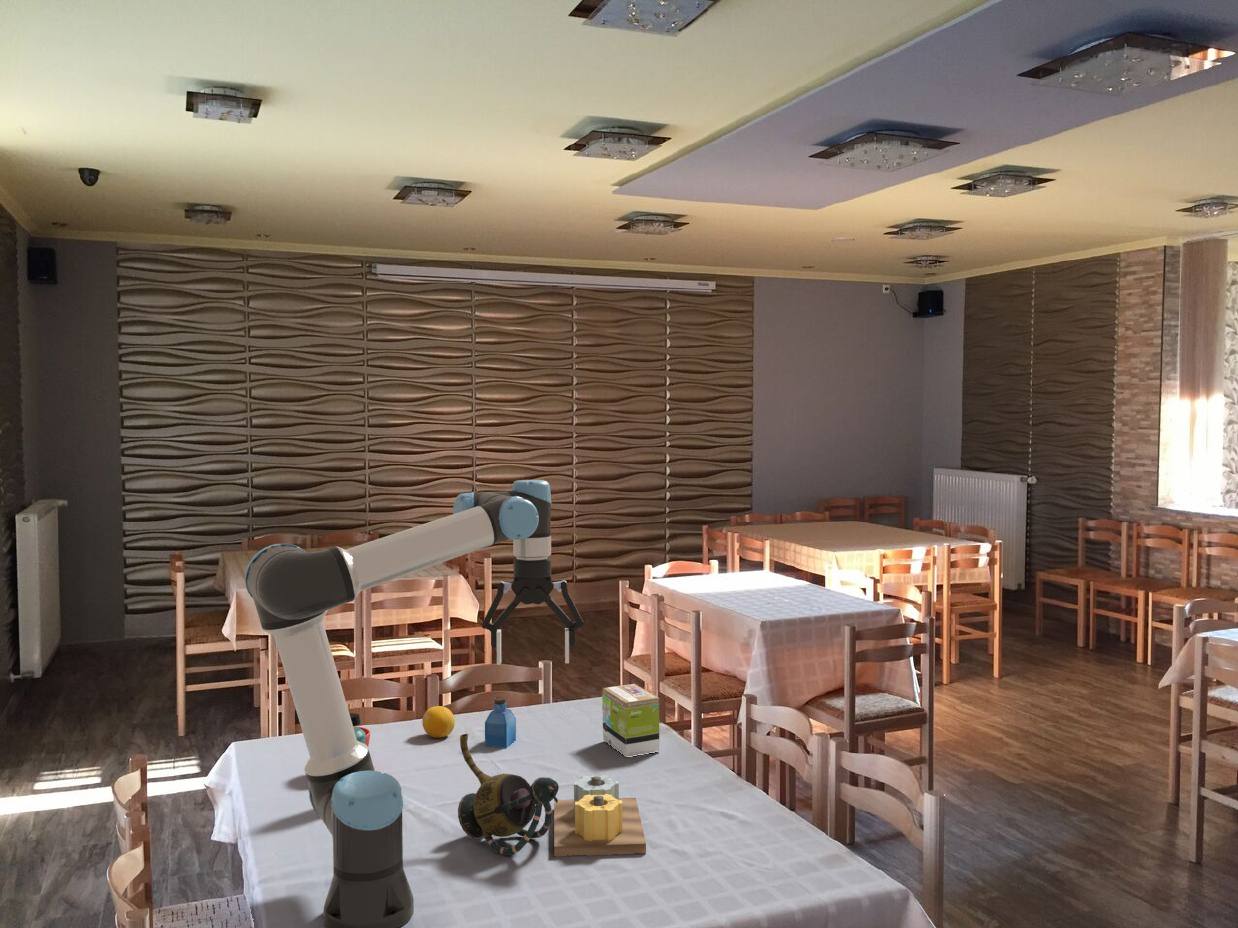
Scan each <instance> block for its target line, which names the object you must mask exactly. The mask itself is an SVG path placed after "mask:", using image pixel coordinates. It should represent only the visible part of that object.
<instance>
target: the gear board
mask: <svg viewBox="0 0 1238 928" xmlns="http://www.w3.org/2000/svg"><path fill="white" fill-rule="evenodd" d="M594 776H595V777H592V786H601V777H598V776H599V775H594ZM619 800H622V832H621V833H618V834H617V835H616V836H615V839H612V840H609V841H608V840H607V839H606V840H592V841H588V840H584V837H582V836H581V835H579V834H575V812H574V798H573V799H558V802H557V803H556V801H555V800H554V799H553V809H554V810H553V811H554V813H553V825H554V826H553V827H554V828H553V831H554V834H553V836H554V837H553V839H554V841H553V842H554V843H553V844H554V845H553V847H554V853H553V854H554V855H553V856H557V857H568V856H567V855H587V856H610V855H611V856H612V854H618V855H634V854H633V853H646V854H647V842H646V837H645V833H644V827H643V824H642V820H641V815H640V811H639V806H638V802H637V797H619ZM603 805H604V797H603V796H595V797H594V806H603ZM627 853H629V854H627Z"/></svg>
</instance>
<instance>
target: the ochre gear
mask: <svg viewBox="0 0 1238 928" xmlns="http://www.w3.org/2000/svg"><path fill="white" fill-rule="evenodd" d="M595 796H603V797H604V805H603V806H594V797H595ZM621 832H622V800H617V799H616V798H614V797H613V795H609V794H605V795H590V794H589V795H585V796H583V798H582V799H581V800H579V802H575V834H579V835H581V836H582V837H584V840H588V841H592V840H606V839H607V840H608V841H609V840H612V839H615V836H616V835H617V834H618V833H621Z"/></svg>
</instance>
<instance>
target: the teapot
mask: <svg viewBox="0 0 1238 928" xmlns="http://www.w3.org/2000/svg"><path fill="white" fill-rule="evenodd" d="M468 739H469V734H468V733H463V734H461V735H459V745H460V750H461V753H462V757H463V759H464V761H465V763H466V765H467V766H468V767H469V768H470V770H471V771H472V773H473V774H474V775H475V777H476V778H477V780H478V781H479V783H480V786H479V788H478V789H477V790H476V792H475V793H473V792H470V793H467V794H465V795H463V797H461V799H460V801H459V803H458V808H457V818H458V822H459V825H460V827H461V829H462V831H463V833H465V834H466V835H467V836H468V837H469V838H471V839H475V840H478V839H482V838H484V839H485V842H487V844H488V845H489V846H490V848H491V850H493V851H494V852H495V853H498V854H499V855H503V856H511V855H516V854H517V853H518V852H520V851H521V850H522V849H523V848H524V847H525V846H526V845H527V843H528V842H529V841H530V839H539V838H541V837H543V836H544V835H546V833H547V832H548V830H549V828H550V826H551V824H552V819H553V810H552V805H551V803H550V802H551V801H552V800H553V801H554V800H555V801H556V803H557V802H558V800H559V799H558V797H556V796H557V795H558V792H559V789H560V787H559V783H558V782H557V781H556V780H554V779H553V778H550V777H546V776H545V777H538V778H536V779H535V778H534V779H535V780H534V781H532V784H530V783H529V782H528V781H527V779H526V778H524V777H522V776H520V775H516V774H512V773H499V774H496V775H493V776H490V775H488V774H486V773H484V771H482V770H481V769H480V768H479V767H478V766H477V765H476V763H475V761H474V759H473V757H472V755H471V752H470V750H469V746H468V741H469V740H468ZM543 807H544V813H545V815H544V822H543V825H542V826H541V828H540V829H538V830H537V828H538V826H539V823H540V820H541V816H542V811H543ZM531 820H532V821H531ZM530 822H531V823H530ZM529 823H530V825H529V827H528V830H527V829H525V827H527V825H528V824H529ZM515 834H516V835H518V836H521V837H522V838H521V839H520V840H519V841H518V842H517V843H516V844H514V845H513V846H511V847H510V846H509V847H504V846H500V845H499V844H498V843H497V841H496V840H495V839H494V837H499V838H503V837H505V838H507V837H510V836H514V835H515ZM493 836H494V837H493Z"/></svg>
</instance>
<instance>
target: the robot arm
mask: <svg viewBox="0 0 1238 928" xmlns="http://www.w3.org/2000/svg"><path fill="white" fill-rule="evenodd" d="M551 492H552V491H551V485H550V483H549V482H548V481H547V480H543V479H521V480H515V481H513V483H512V488H511V490H507V491H481V492H480V491H479V492H475V491H471V492H465V493H460V494H459V493H458V495H457V496H456V497H455V500H454V502H453V509H452V510H453V511H452V514H450V515H447V516H444V517H441V518H438V519H435V520H432V521H429V522H426V523H423V524H419V525H416V526H413V527H410V528H407V529H404V530H402V531H398V532H395V533H392V534H390V535H386V536H383V537H380V538H377V539H374V540H371V541H368V542H365V543H362V544H359V545H355V546H353V547H349V548H347V549H345V548H342V547H340V546H334V547H330V548H327V549H323V550H319V551H311V552H310V551H309V552H306V551H305V550H304V549H302V548H301V547H299V546H298V545H295V544H288V543H275V544H271V545H268V546H266V547H263V548H262V549H260V550H259V551H257V552H256V553H255V554H254V555H253V557H251V559H250V561H249V563H248V565H247V566H246V569H245V575H244V583H245V584H244V585H245V589H246V591H247V593H248V594H249V596H250V597H251V598H252V600H253V603H254V605H255V608H256V609H255V610H256V613H257V615H258V619H259V623H260V626H261V629H262V631H264V632H266V633H268V634H270V635H271V636H273V637H274V641H275V645H276V647H277V650H278V654H279V657H280V660H281V664H282V667H283V672H284V674H285V679H286V681H287V683H288V684H287V685H288V687H289V690H290V694H291V697H292V701H293V704H294V708H295V710H296V714H297V717H298V721H299V724H300V727H301V732H302V735H303V737H304V741H305V744H306V748H307V752H308V754H309V759H308V760H307V763H306V764H305V766H304V771H305V775H306V779H307V782H308V794H309V796H308V798H309V802H310V804H311V806H312V808H313V810H314V812H315V814H316V815H317V816H318V817H319V818H320V819H321V821H322V822H323V823H324V825H325V826H326V828H327V829H328V831H329V833H330V835H331V836H332V860H333V861H332V863H333V867H332V869H333V875H332V876H333V877H332V880H331V882H330V886H329V889H328V892H327V895H326V898H325V901H324V904H323V905H324V906H323V925H324V927H325V928H400V927H402V926H403V925H405V924H406V923H407V922H409V921H410V920H411V919H412V916H413V915H414V912H415V911H414V910H415V908H414V907H415V905H414V904H415V903H414V902H415V901H414V895H413V891H412V889H411V886H410V883H409V881H408V878H407V875H406V872H405V870H404V860H403V859H404V856H403V855H404V852H403V851H404V850H403V849H404V848H403V846H404V845H403V839H404V838H403V808H404V807H403V806H404V800H403V799H404V798H403V794H402V792H403V791H402V786H401V784H400V782H399V781H398V780H397V778H396V777H394V776H392V775H391V774H389V773H387V772H384V773H382V772H381V771H378V770H375V767H374V763H373V760H372V756H371V754H370V750H369V746H367V745H366V744H364V743H361V742H359V741H357V739H356V735H355V732H354V728H353V727H354V726H353V725H352V721H351V718H350V714H349V713H350V711H349V708H348V704H347V701H346V700H347V699H346V697H345V695H344V694H345V693H344V690H343V687H342V684H341V683H342V682H341V680H340V677H339V674H338V673H339V672H338V670H337V666H336V663H335V659H334V655H333V653H332V649H331V648H332V647H331V646H330V641H329V639H328V638H329V637H328V636H327V632H326V629H325V624H324V621H323V620H324V618H325V616H326V615H327V614H328V611H329V610H332V609H334V608H337V607H340V606H342V605H345V604H348V603H350V602H353V601H355V600H357V597H358V596H359V594H360V593H361V592H364V591H365V590H369V589H371V588H375V587H378V586H380V585H383V584H385V583H389V582H392V581H394V580H397V579H400V578H403V577H404V576H408V575H411V574H414V573H416V572H419V571H422V570H425V569H428V568H430V567H433V566H436V565H439V564H442V563H445V562H447V561H450V560H453V559H456V558H459V557H461V556H462V557H463V556H465V555H467V554H469V553H473V552H475V551H479V550H481V549H484V548H487V547H490V546H493V545H495V544H498V543H502V542H504V541H508V540H512V541H513V542H512V545H513V547H512V549H513V552H512V553H513V556H514V557H516V558H514V559H513V580H512V582H506V581H504V580H499V582H498V584H497V593H496V594H495V597H494V598H493V600H492V602H491V604H490V606H489V608H488V610H487V613H486V615H485V617H484V619H483V621H482V623H481V628H482V629H484V630H488V631H489V632H490V645H491V648H496V665H498V666H501V665H502V629H499V628H500V627H501V626H502V625H503V624H504V622H505V621H506V620H507V618H508V617H509V616H510V615H511V614H512V612H513V611H514V610H515V609H516V608H517V607H518V606H519V605H520V604H521V603H522V604H524V605H532V604H534V605H541V604H543V603H545V604H546V605H547V606H548V607H549V608H550V609H551V610H552V611H553V613H554V614H555V615H556V616H557V617H558V618H559V620H560V621H561V622H562V623H563V624H564V625H565V626H566V628H564V659H565V660H564V664H570V647H574V646H575V643H576V642H575V641H576V640H575V631H576V630H577V629H578V628H582V627H584V624H585V623H584V620H583V618H582V616H581V615H580V612H579V610H578V608H577V605H575V602H574V600H573V598H572V597H571V594H570V592H569V591H568V582H567V580H566V579H562V580H561V581H553V580H552V559H551V558H550V557H549V556H551V555H552V535H551V534H552V531H551V530H552V525H551V524H552V520H551V519H552V514H551V513H552V510H551V509H552V504H553V503H552V497H551V496H552V495H551V494H552V493H551ZM554 589H556V590H557V592H558V593H561V595H562V597H563V600H564V601H565V603H566V605H567V607H568V610H569V611H570V613H571V616H572V617H573V619H574V621H572V619H570V617H569V616H568V615H567V614H566V613H565V611H564V610H563V609H562V608H561V606H559V604H557V602H556V601H555V600H554V598H553V597H552V596H551V595H550V594H551V593H552V592H553V590H554ZM509 590H511V591H512V592H513V593H514V595H515V596H514V598H512V600H511V601H510V603H509V604H508V605H507V606H506V608H505V609H504V610H503V611H502V612H501V613H500V614H499V616H498V617H497V618H496V619H495V620H494V622H492V619H493V617H494V614H495V612H496V610H497V608H498V606H499V605H500V602H501V600H502V598H503V595H504V594H507V593H508V591H509Z"/></svg>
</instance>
